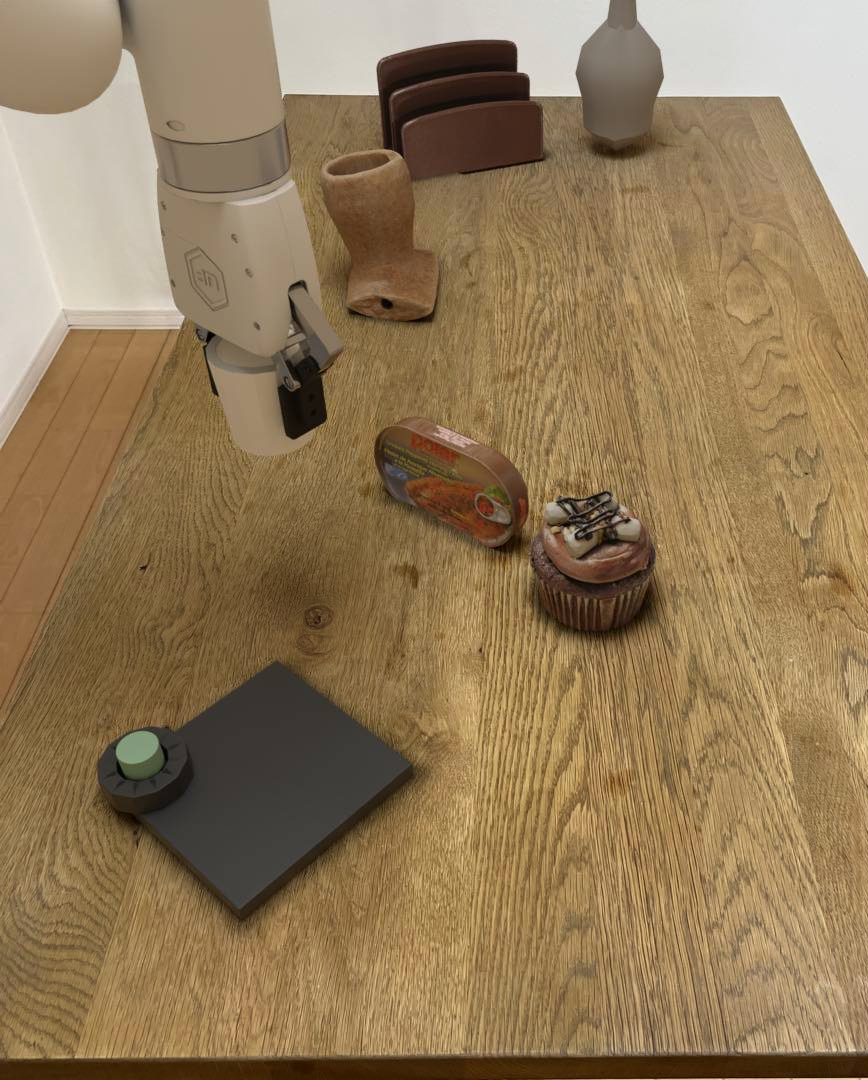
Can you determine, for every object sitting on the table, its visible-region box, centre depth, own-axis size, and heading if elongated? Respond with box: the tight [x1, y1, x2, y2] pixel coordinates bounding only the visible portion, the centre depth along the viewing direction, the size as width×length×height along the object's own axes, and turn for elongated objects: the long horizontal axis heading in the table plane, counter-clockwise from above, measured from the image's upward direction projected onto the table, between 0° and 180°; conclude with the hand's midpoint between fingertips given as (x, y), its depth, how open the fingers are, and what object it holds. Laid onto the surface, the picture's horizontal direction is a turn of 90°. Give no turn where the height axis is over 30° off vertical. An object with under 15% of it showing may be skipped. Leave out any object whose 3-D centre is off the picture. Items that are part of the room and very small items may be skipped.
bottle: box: [574, 0, 665, 152], centre depth 144 cm, size 11×11×30 cm
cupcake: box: [528, 490, 658, 633], centre depth 83 cm, size 10×10×10 cm
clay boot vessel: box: [319, 148, 440, 322], centre depth 118 cm, size 15×12×15 cm
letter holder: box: [376, 39, 545, 181], centre depth 147 cm, size 10×20×14 cm, turn 113°
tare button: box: [116, 731, 165, 781], centre depth 70 cm, size 3×3×2 cm
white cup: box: [206, 324, 316, 457], centre depth 75 cm, size 7×7×7 cm
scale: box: [96, 660, 414, 921], centre depth 72 cm, size 15×15×4 cm
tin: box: [373, 415, 530, 548], centre depth 91 cm, size 15×3×8 cm, turn 53°
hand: (269, 406), depth 76 cm, fingers closed on white cup, 6 cm apart
